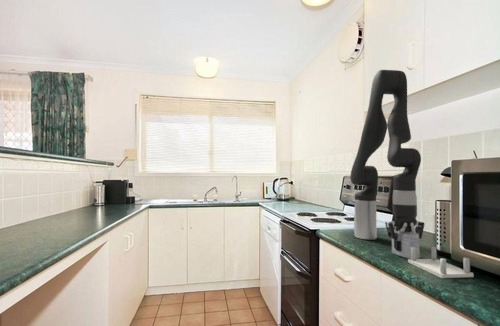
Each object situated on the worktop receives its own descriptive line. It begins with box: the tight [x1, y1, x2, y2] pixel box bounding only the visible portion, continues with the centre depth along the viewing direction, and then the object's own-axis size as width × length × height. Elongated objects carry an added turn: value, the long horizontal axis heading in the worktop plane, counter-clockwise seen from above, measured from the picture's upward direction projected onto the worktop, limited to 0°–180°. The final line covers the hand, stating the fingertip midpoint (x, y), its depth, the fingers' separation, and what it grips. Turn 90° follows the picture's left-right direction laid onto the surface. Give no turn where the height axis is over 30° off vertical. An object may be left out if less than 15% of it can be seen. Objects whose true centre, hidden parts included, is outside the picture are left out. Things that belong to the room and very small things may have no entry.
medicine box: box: [391, 230, 421, 260], centre depth 92 cm, size 8×4×9 cm, turn 16°
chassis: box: [407, 246, 474, 279], centre depth 79 cm, size 13×10×5 cm
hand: (405, 250), depth 92 cm, fingers closed on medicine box, 5 cm apart
